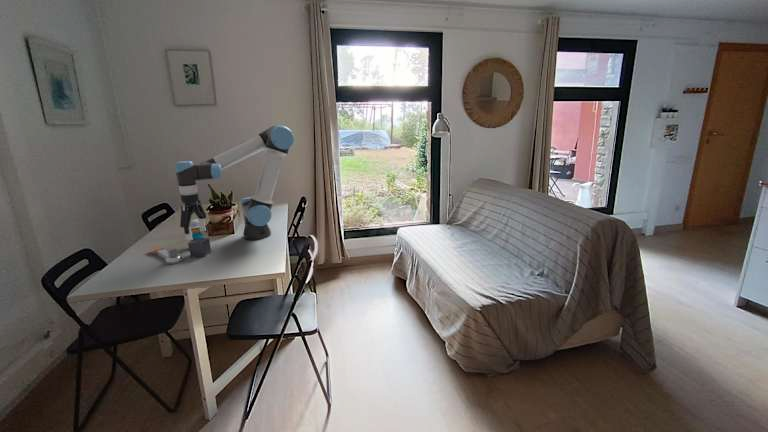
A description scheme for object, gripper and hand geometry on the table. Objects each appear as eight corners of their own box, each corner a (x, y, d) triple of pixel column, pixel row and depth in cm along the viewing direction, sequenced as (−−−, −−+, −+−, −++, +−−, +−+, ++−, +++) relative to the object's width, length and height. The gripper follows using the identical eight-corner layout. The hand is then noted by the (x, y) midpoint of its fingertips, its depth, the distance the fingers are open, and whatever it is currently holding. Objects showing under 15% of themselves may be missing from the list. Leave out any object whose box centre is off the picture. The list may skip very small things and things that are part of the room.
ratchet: (147, 252, 179) (144, 241, 177) (162, 248, 184) (159, 237, 182) (169, 265, 162) (166, 252, 160) (185, 260, 167) (182, 248, 165)
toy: (212, 244, 189) (207, 217, 184) (198, 249, 181) (192, 222, 177) (201, 242, 192) (196, 216, 188) (187, 247, 185) (181, 221, 180)
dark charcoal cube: (211, 251, 178) (208, 237, 176) (204, 256, 171) (202, 242, 169) (197, 252, 178) (195, 238, 175) (190, 257, 171) (187, 243, 169)
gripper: (194, 188, 177) (201, 227, 183) (166, 199, 153) (174, 244, 159) (208, 188, 177) (215, 227, 183) (183, 199, 153) (191, 243, 159)
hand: (196, 235), depth 171 cm, fingers open, 13 cm apart
